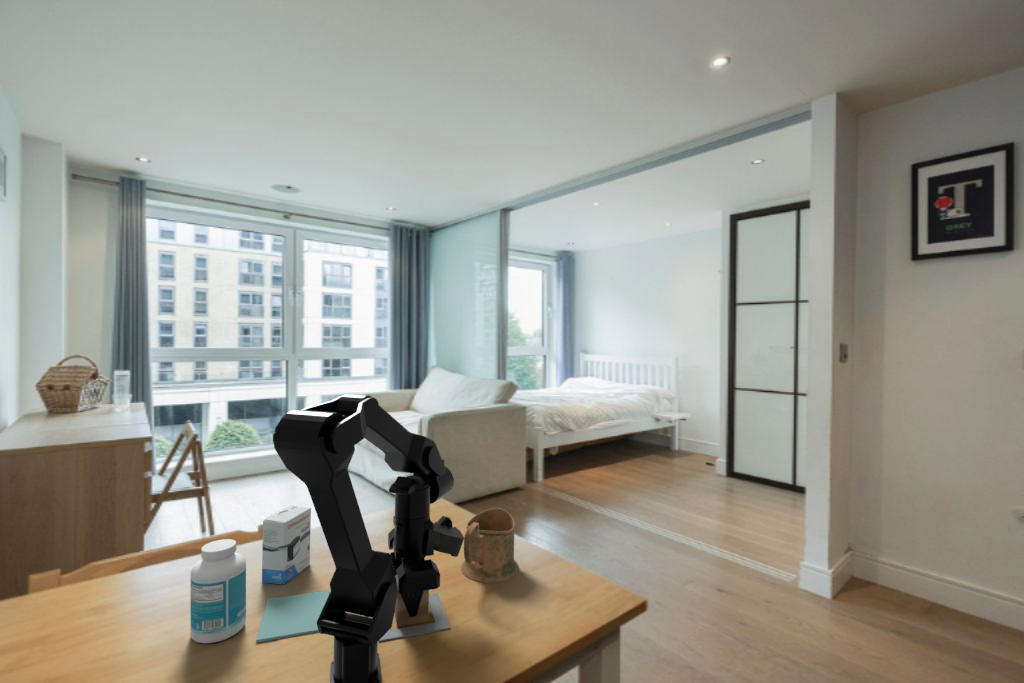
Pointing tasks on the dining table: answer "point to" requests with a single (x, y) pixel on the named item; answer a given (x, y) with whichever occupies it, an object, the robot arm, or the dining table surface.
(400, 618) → the block
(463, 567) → the mug
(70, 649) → the dining table surface
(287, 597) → the mat
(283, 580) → the ink box
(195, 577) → the pill bottle
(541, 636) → the dining table surface
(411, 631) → the frame
